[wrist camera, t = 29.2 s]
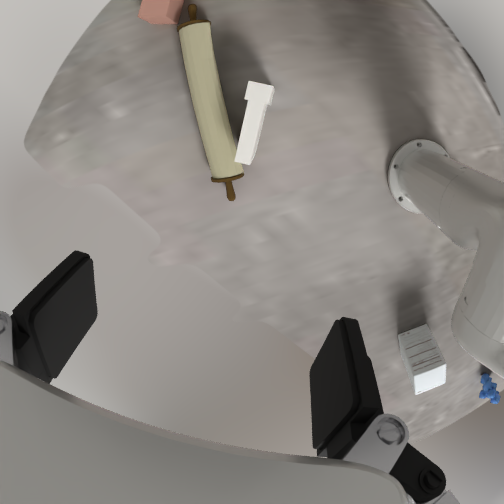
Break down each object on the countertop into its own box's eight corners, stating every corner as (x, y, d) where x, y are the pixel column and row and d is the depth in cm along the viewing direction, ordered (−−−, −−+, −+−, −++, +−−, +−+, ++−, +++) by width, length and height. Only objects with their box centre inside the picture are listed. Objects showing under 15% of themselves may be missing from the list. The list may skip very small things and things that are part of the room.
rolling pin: (178, 13, 35) (168, 5, 31) (213, 4, 34) (206, -6, 30) (218, 199, 49) (211, 209, 45) (251, 193, 48) (248, 203, 44)
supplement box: (428, 343, 60) (445, 383, 49) (400, 354, 62) (414, 396, 50) (427, 322, 57) (447, 363, 46) (397, 333, 59) (413, 377, 48)
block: (186, -7, 33) (175, -19, 28) (178, 24, 36) (166, 16, 31) (160, -7, 33) (147, -17, 28) (152, 24, 36) (137, 16, 31)
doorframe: (318, -28, 30) (326, -52, 22) (271, 157, 45) (269, 169, 37) (286, -35, 30) (287, -61, 22) (239, 150, 45) (230, 160, 37)
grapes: (467, 377, 65) (480, 408, 55) (484, 363, 63) (500, 393, 52) (477, 388, 68) (489, 416, 57) (493, 375, 65) (507, 403, 55)
